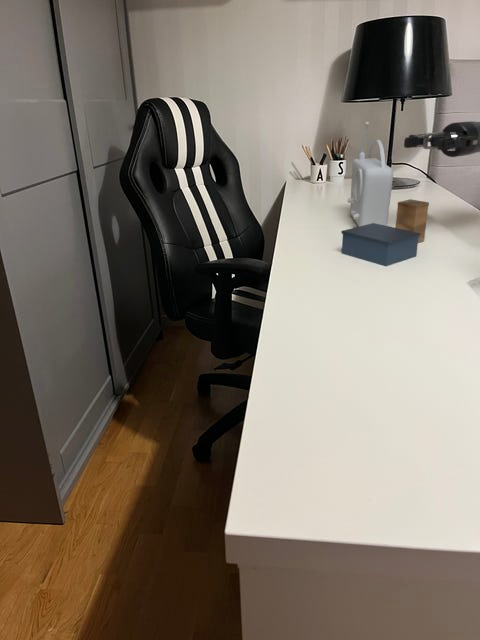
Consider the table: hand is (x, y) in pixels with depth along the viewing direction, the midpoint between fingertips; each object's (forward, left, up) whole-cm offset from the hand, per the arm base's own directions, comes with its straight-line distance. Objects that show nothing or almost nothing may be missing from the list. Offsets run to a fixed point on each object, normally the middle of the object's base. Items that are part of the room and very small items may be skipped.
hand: (422, 143), depth 108 cm
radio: (+13, -14, -22) cm, 29 cm away
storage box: (+5, +14, -21) cm, 26 cm away
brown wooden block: (0, +1, -21) cm, 22 cm away
